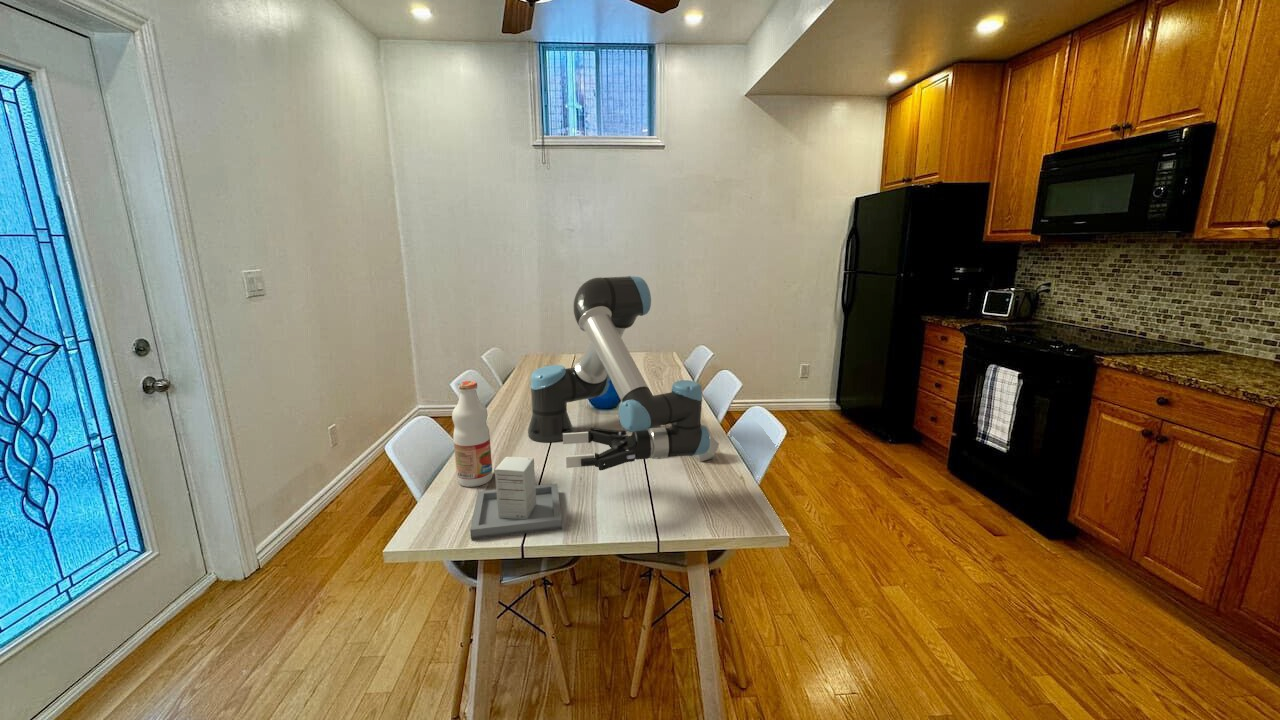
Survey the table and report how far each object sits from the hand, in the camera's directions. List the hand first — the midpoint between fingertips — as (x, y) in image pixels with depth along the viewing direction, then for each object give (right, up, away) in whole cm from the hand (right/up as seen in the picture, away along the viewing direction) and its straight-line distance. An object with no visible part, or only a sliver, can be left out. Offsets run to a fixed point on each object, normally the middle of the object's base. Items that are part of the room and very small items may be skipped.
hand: (564, 449), depth 122 cm
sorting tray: (-11, -15, -1) cm, 19 cm away
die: (+38, -8, +30) cm, 50 cm away
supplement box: (-11, -15, -1) cm, 19 cm away
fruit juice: (-27, -12, +16) cm, 34 cm away
